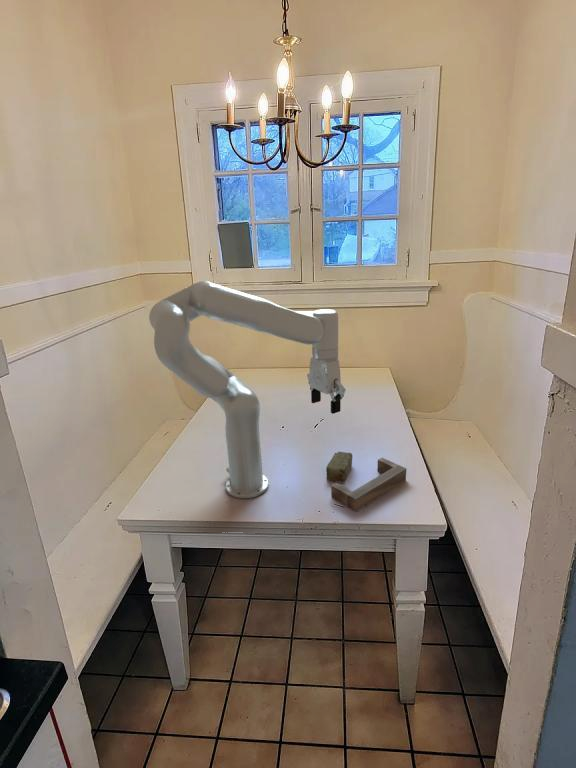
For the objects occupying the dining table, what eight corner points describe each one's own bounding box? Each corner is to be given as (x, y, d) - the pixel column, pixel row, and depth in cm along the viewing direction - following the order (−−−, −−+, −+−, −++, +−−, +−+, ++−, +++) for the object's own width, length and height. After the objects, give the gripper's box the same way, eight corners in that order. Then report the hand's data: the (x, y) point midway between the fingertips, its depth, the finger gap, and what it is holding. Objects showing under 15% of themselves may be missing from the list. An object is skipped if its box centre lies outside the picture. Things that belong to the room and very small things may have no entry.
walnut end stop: (331, 497, 127) (331, 485, 126) (381, 468, 140) (381, 457, 139) (355, 511, 121) (355, 499, 119) (405, 480, 134) (406, 468, 132)
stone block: (353, 465, 143) (353, 451, 141) (344, 485, 133) (344, 470, 131) (335, 463, 145) (335, 449, 143) (325, 482, 135) (325, 468, 133)
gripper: (297, 348, 136) (299, 401, 142) (333, 362, 122) (333, 420, 128) (318, 344, 140) (318, 395, 146) (354, 357, 126) (353, 413, 132)
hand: (325, 407), depth 137 cm, fingers open, 9 cm apart
